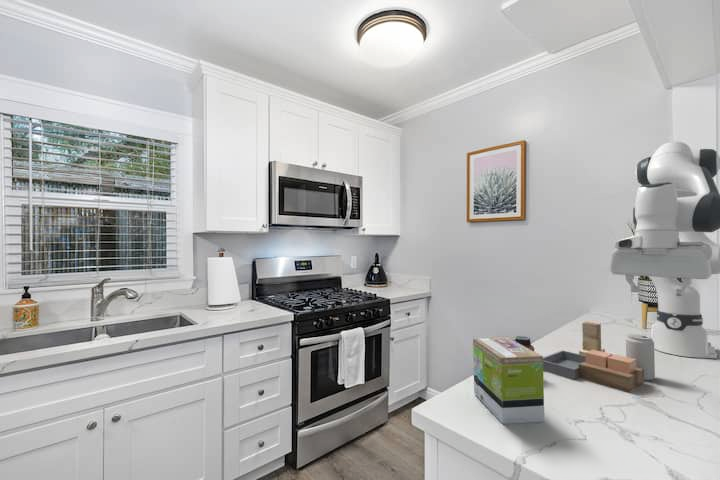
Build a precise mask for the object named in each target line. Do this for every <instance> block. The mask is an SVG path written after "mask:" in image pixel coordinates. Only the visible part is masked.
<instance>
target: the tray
mask: <svg viewBox="0 0 720 480" xmlns="http://www.w3.org/2000/svg"><path fill="white" fill-rule="evenodd" d="M585 361H586V356H584V355H580V354H579V353H576V352H570V351H566V350H564V349H563V350H559V351H556V352H553V353H551V354H548V355H546V356H543V372H546V373H549V374H553V375H556V376H559V377H563V378H566V379H569V380H573V381H576V380H578V379H580V378H579V366H578V364H580V363H582V362H585Z"/></svg>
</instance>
